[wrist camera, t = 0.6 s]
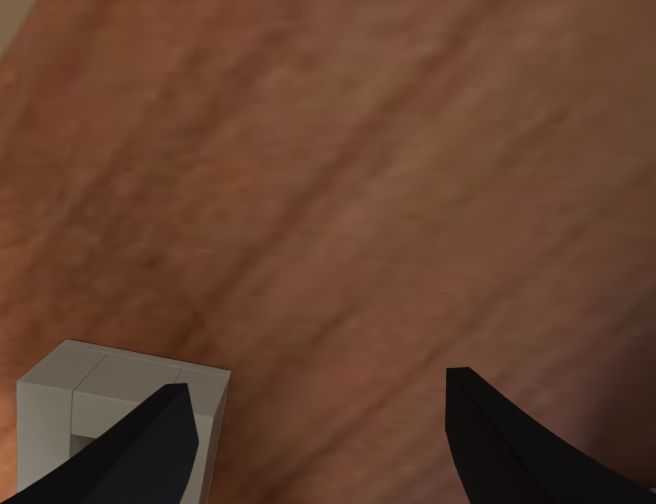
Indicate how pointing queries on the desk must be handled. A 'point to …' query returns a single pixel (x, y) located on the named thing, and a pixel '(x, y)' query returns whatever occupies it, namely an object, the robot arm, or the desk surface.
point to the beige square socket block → (108, 406)
